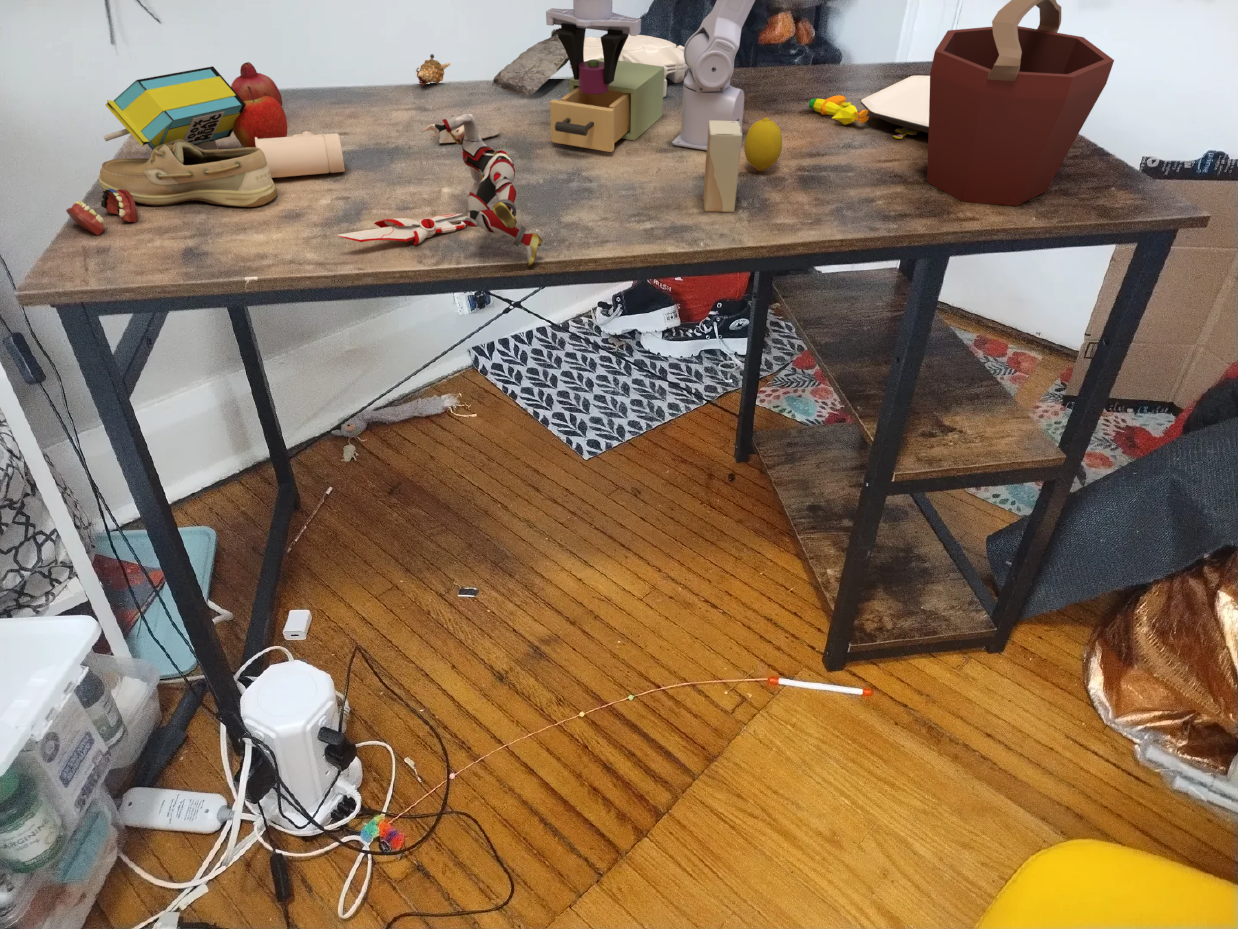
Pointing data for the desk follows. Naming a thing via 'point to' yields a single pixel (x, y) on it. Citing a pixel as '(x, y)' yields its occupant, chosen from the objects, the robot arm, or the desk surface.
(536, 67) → the stone
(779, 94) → the desk surface
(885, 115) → the plate
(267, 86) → the fruit
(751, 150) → the lemon
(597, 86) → the mangosteen
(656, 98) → the cabinet
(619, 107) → the drawer
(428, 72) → the figurine
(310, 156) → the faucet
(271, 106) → the apple
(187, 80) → the carton
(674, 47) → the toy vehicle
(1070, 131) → the bucket
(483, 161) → the anime character
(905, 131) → the decorative knife
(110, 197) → the dental model
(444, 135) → the arrowhead
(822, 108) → the toy figure
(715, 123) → the box
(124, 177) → the boat shoe
